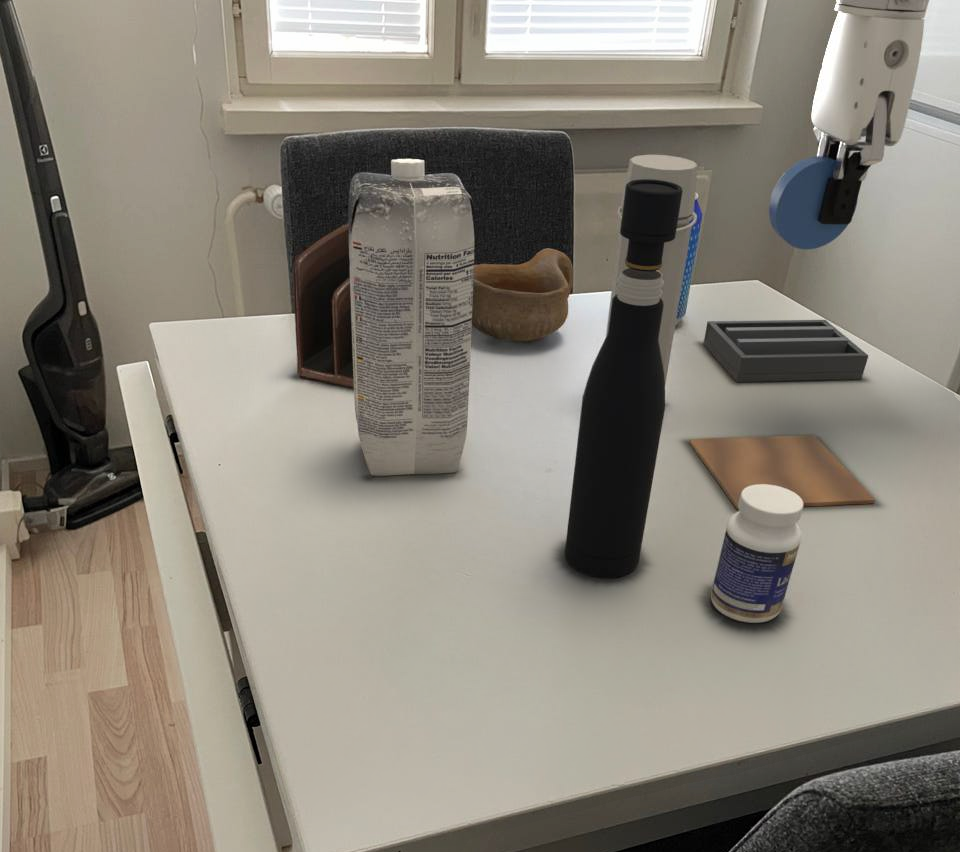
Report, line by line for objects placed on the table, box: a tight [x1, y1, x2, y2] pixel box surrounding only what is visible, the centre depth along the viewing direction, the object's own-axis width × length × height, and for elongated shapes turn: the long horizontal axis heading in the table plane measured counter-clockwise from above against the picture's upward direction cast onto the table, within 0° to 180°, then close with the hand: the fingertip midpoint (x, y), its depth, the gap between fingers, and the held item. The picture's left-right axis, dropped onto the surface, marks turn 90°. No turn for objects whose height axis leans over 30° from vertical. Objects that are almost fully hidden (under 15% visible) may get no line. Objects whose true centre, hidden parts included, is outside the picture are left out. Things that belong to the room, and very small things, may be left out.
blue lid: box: [768, 155, 859, 250], centre depth 95 cm, size 8×2×8 cm, turn 98°
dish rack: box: [703, 319, 869, 383], centre depth 122 cm, size 16×12×4 cm
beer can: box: [675, 191, 703, 327], centre depth 128 cm, size 8×8×16 cm
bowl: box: [472, 247, 574, 343], centre depth 125 cm, size 18×14×10 cm
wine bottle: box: [564, 179, 683, 579], centre depth 76 cm, size 6×6×30 cm
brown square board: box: [688, 434, 876, 510], centre depth 99 cm, size 14×14×1 cm
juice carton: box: [347, 158, 475, 477], centre depth 90 cm, size 9×10×27 cm
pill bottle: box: [710, 484, 804, 624], centre depth 78 cm, size 6×6×10 cm
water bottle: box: [605, 154, 698, 385], centre depth 103 cm, size 9×8×25 cm
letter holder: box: [292, 222, 354, 389], centre depth 114 cm, size 10×20×14 cm, turn 158°
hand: (828, 217), depth 96 cm, fingers closed on blue lid, 2 cm apart
